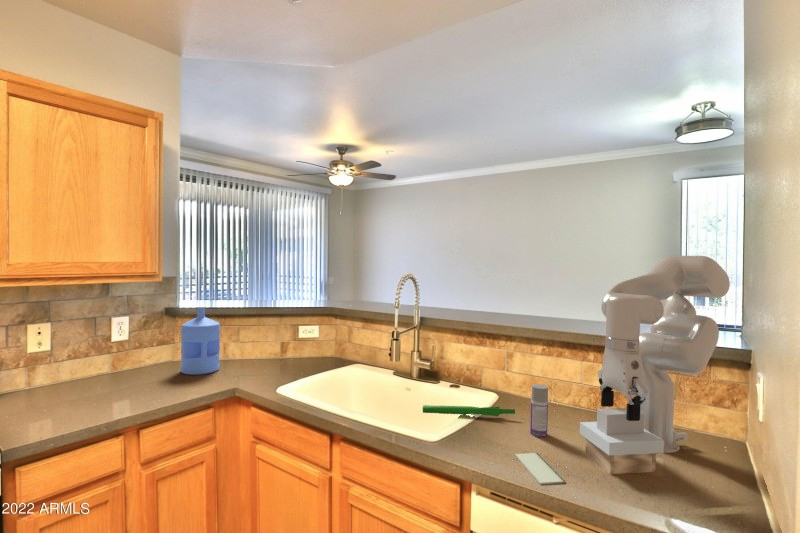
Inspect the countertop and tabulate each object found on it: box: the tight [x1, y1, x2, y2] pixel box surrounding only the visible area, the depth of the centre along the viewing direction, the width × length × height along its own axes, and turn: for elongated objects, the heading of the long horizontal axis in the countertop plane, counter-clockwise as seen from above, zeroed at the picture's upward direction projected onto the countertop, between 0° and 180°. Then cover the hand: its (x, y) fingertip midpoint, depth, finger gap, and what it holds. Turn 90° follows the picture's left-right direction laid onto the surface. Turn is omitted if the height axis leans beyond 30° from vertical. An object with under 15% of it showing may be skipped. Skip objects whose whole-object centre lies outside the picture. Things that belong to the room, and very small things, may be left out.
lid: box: [579, 407, 664, 455], centre depth 103 cm, size 14×12×8 cm
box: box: [584, 438, 657, 475], centre depth 103 cm, size 12×10×8 cm
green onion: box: [422, 404, 516, 418], centre depth 135 cm, size 5×3×30 cm
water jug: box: [180, 307, 221, 376], centre depth 182 cm, size 16×16×28 cm
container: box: [529, 383, 549, 439], centre depth 119 cm, size 5×5×15 cm
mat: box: [514, 452, 567, 485], centre depth 102 cm, size 16×14×1 cm
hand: (619, 412), depth 103 cm, fingers open, 9 cm apart
